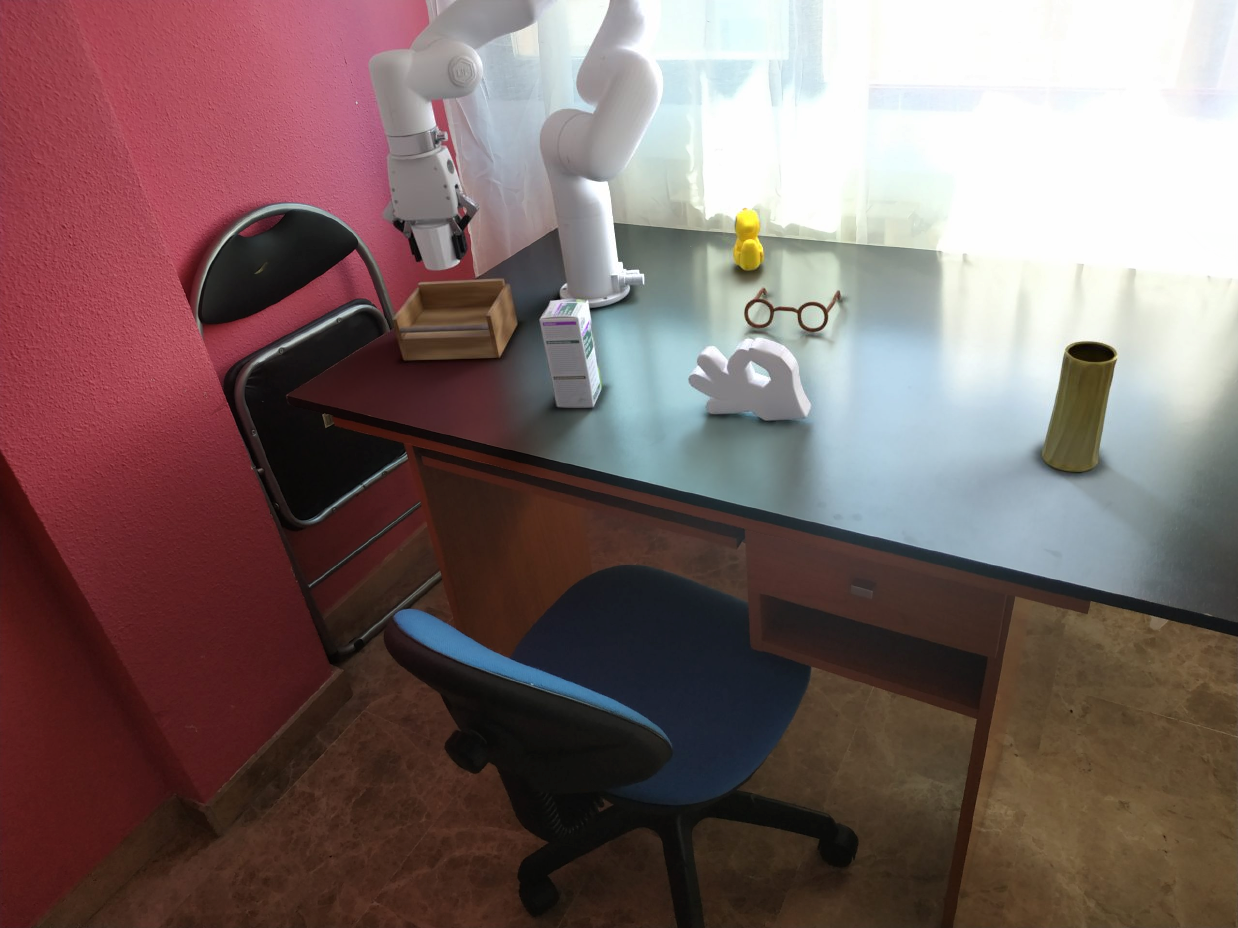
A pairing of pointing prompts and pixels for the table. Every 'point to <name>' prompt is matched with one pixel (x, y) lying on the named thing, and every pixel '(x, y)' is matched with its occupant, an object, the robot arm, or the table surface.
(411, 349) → the spice rack
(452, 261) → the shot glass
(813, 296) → the table surface
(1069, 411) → the vase
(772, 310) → the glasses
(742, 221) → the duckling
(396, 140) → the robot arm
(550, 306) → the syrup box
